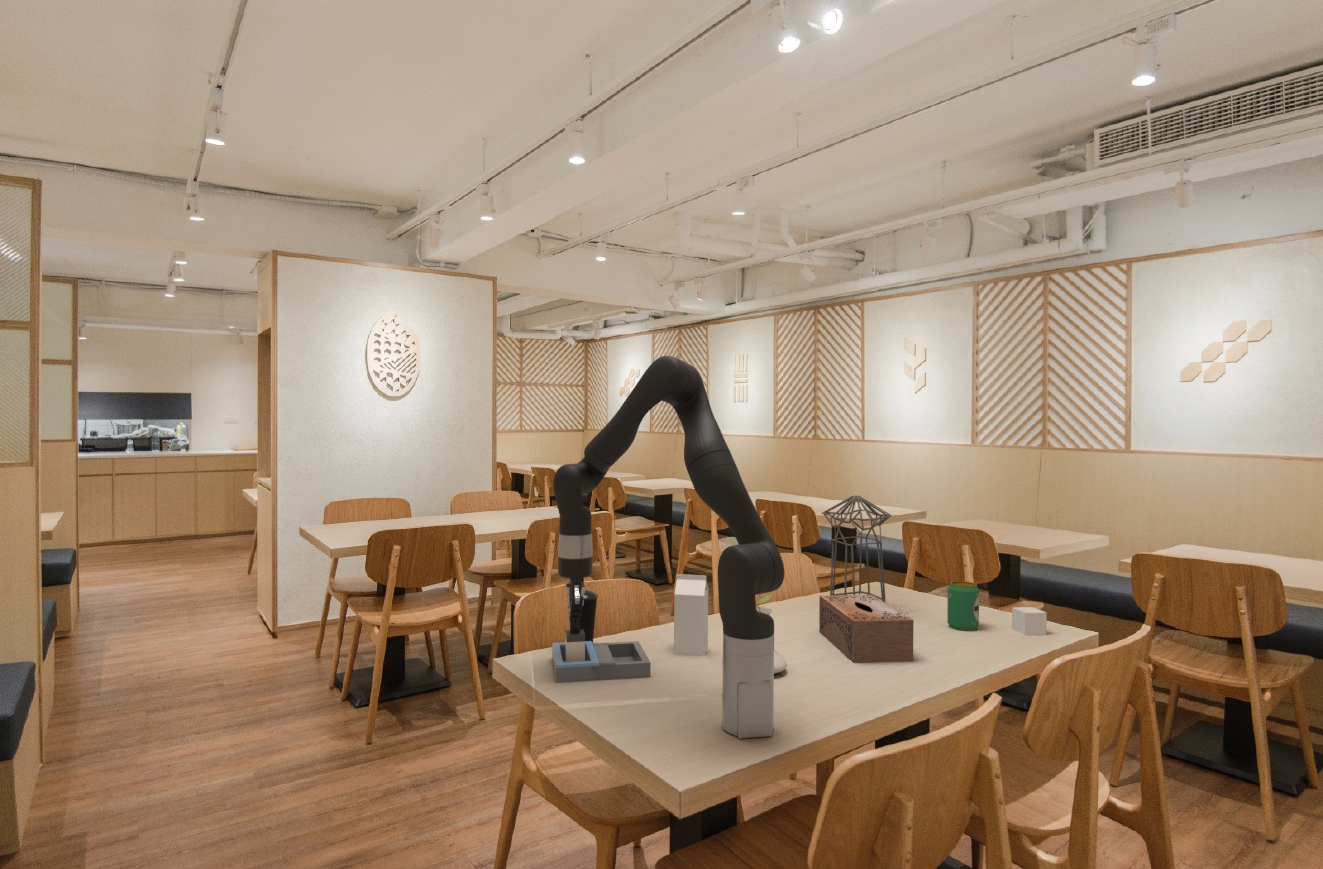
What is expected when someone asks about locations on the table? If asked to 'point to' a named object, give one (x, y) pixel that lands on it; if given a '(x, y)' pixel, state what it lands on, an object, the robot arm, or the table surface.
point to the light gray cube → (1029, 620)
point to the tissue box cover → (866, 628)
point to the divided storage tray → (602, 662)
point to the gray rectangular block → (574, 646)
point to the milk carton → (691, 615)
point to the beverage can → (963, 606)
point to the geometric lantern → (851, 502)
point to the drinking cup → (588, 614)
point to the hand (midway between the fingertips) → (574, 632)
